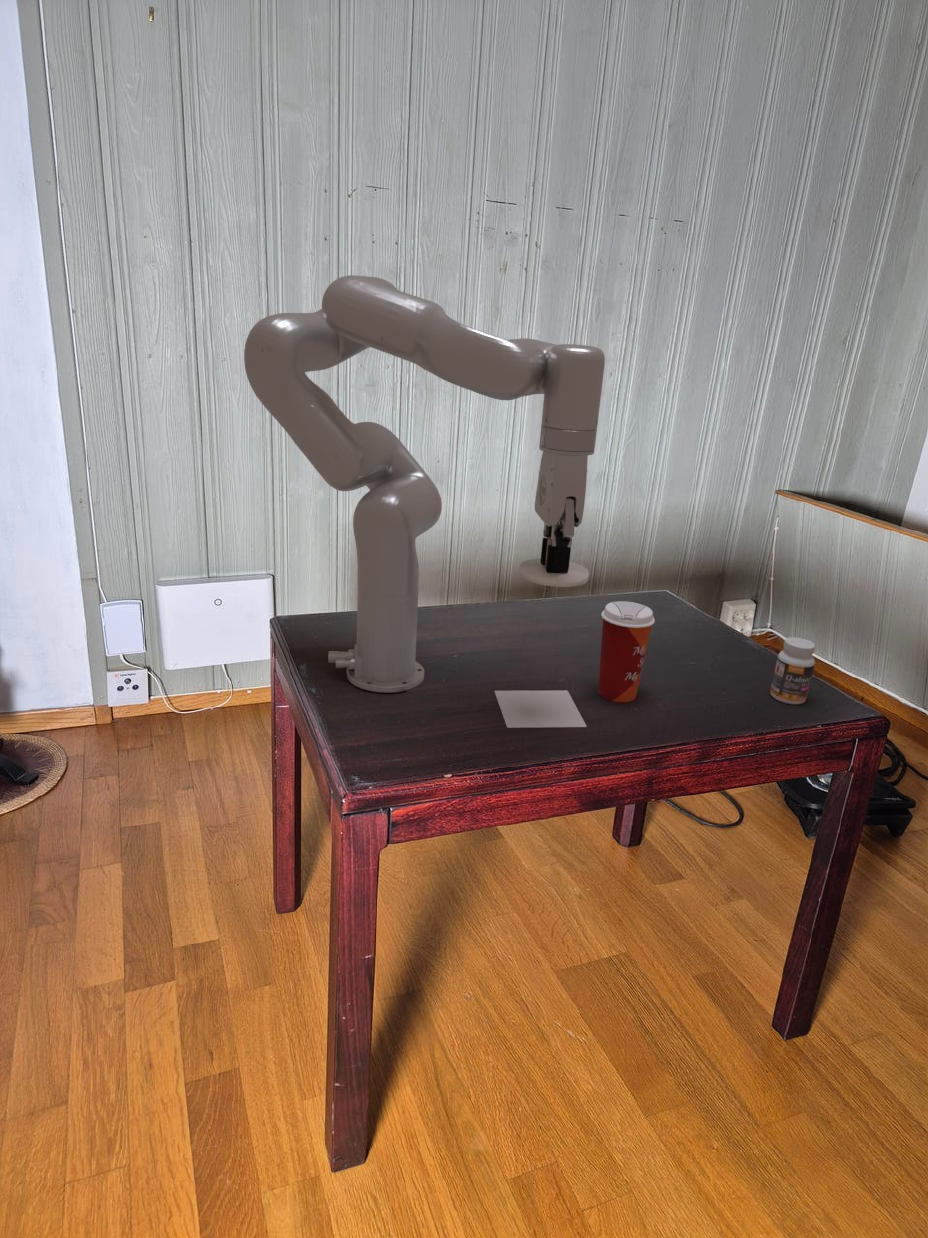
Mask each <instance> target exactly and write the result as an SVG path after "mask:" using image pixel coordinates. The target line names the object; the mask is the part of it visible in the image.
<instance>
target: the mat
mask: <svg viewBox="0 0 928 1238" xmlns="http://www.w3.org/2000/svg"><path fill="white" fill-rule="evenodd" d="M494 695H495V697H496V700H497V702H498V705H499V708H500V711H501V713H502V716H503V720H504V722H505V725H506V727H507V729H509V728H510V729H514V728H515V729H519V728H520V729H521V728H522V729H524V728H525V729H526V728H527V729H528V728H530V729H532V728H534V729H535V728H587V727H588V726H587V724H586V723H585V720H584V718H583V717H582V715H581V713H580V711H579V710H578V708H577V706H576V704H575V701H574V700H573V697H572V696H571V694H570V692H569V691H568V690H566V689H565V690H494Z"/></svg>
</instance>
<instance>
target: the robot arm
mask: <svg viewBox="0 0 928 1238" xmlns="http://www.w3.org/2000/svg"><path fill="white" fill-rule="evenodd" d="M369 348H372V349H374V350H378V351H380V352H383V353H386V354H388V355H391V356H394V357H396V358H399V359H402V360H403V361H404V360H405V361H407V362H409V363H412V364H415V365H417V366H419V367H420V368H421V369H423V370H424V371H426V372H428V373H431V374H432V375H434V376H435V377H438V378H440V379H441V380H443V381H445V382H447V383H450V384H453V385H455V386H457V387H459V388H462V389H465V390H468V391H471V392H474V393H477V394H479V395H480V396H481V395H482V396H485V397H488V398H491V399H494V400H499V401H513V400H517V399H520V398H523V397H527V396H528V397H529V396H532V395H533V396H534V395H543V402H542V403H543V404H542V405H543V406H542V413H541V415H542V416H541V425H540V433H539V434H540V435H539V436H540V437H539V444H538V445H539V447H538V448H539V450H540V451H542V455H541V460H540V463H539V464H540V465H539V471H538V479H537V485H536V492H535V501H534V511H535V513H536V514H537V516H538V517H539V518H540V520H541V521H542V522H543V523H544V524H543V537H542V541H541V552H540V553H541V554H540V558H541V561H540V562H541V564H542V565H545V561H546V551H547V542H548V537H550V536H551V545H548V551H547V561H546V572H547V573H568V570H569V561H570V560H571V551H572V545H573V538H574V537H575V528H578V527H579V526H581V524H582V522H583V518H584V511H585V503H586V502H585V500H586V491H587V481H588V479H587V478H588V477H587V475H588V456H592V455H594V454H595V449H596V443H597V442H596V440H597V432H598V424H599V416H600V415H599V414H600V406H601V397H602V389H603V380H604V373H605V363H606V357H605V353H604V351H603V350H602V349H601V348H599V347H596V346H591V345H585V344H571V343H570V344H569V343H565V344H564V343H563V344H562V343H561V344H556V343H550V342H547V341H541V340H539V339H534V338H529V337H528V338H527V337H526V338H525V337H524V338H510V339H506V338H502V337H500V336H496V335H493V334H490V333H487V332H485V331H482V330H479V329H476V328H473V327H471V326H469V325H465V324H463V323H461V322H459V321H456V320H455V319H454V318H451V317H450V316H449V315H447V313H446V312H445V310H444V308H443V307H442V306H441V305H440V304H438V303H437V302H434V301H431V300H428V299H425V298H422V297H420V296H417V295H413V294H410V293H408V292H404V291H402V290H398V288H397V287H396V286H395V285H394V284H393V283H391V282H390V281H388V280H386V279H384V278H381V277H379V276H377V277H376V276H375V277H374V276H366V275H352V274H351V275H344V276H341V277H338V278H336V279H335V280H333V281H332V282H331V283H330V284H329V285H328V287H327V288H326V289H325V290H324V293H323V296H322V301H321V309H318V310H317V311H315V312H281V313H275V314H271V315H268V316H265V317H264V318H262V319H260V320H258V321H257V322H256V323H254V325H253V326H252V327H251V329H250V331H249V333H248V335H247V337H246V340H245V344H244V350H243V351H244V352H243V353H244V354H243V360H244V371H245V373H246V374H245V375H246V378H247V380H248V383H249V386H250V388H251V389H252V391H253V393H254V394H255V396H256V398H257V399H258V401H259V402H260V403H261V404H262V405H263V406H264V407H265V409H266V411H268V412H269V413H270V415H271V416H272V417H273V418H274V419H275V421H277V422H278V424H279V425H280V426H281V427H282V428H283V430H284V431H285V432H286V434H288V436H289V437H290V438H291V440H292V441H293V442H294V444H295V445H296V447H298V449H299V450H300V451H301V452H302V454H303V455H304V456H305V458H306V459H307V460H308V461H309V463H310V464H311V465H312V466H313V468H314V469H315V470H316V472H317V473H318V474H319V475H320V476H321V478H323V480H324V481H325V483H327V484H328V485H329V486H330V487H332V488H333V489H335V490H336V491H340V492H350V491H351V492H353V491H354V490H358V489H361V488H363V487H367V489H369V491H368V492H366V493H364V495H363V496H362V497H361V498H360V500H359V501H358V502H357V504H356V506H355V509H354V512H353V516H352V518H353V519H352V528H353V535H354V536H353V537H354V542H355V546H356V547H355V548H356V559H357V560H356V561H357V583H356V584H357V597H356V598H357V607H356V608H357V609H356V610H357V611H356V613H357V614H356V643H354V649H353V648H352V649H348V651H339V650H336V651H335V650H329V651H328V655H327V656H328V657H327V659H328V662H327V663H329V664H335V668H336V669H344V668H346V678H347V680H348V681H349V682H350V683H351V684H352V685H353V686H355V687H356V688H359V689H362V690H366V691H368V692H375V693H386V694H388V693H389V694H390V693H401V692H406V691H407V690H410V689H414V688H416V687H418V686H419V685H420V684H421V683H423V681H424V679H425V668H424V667H423V666H422V664H420V663H419V662H418V661H416V657H417V656H416V654H417V653H416V652H417V632H418V631H417V629H418V609H419V607H418V605H419V587H420V586H419V582H420V580H419V579H420V568H419V567H420V566H419V560H418V558H419V557H418V553H417V548H416V539H417V538H418V537H420V536H421V535H422V534H424V533H426V532H428V531H429V530H430V529H431V528H433V527H434V526H435V524H437V522H438V521H439V519H440V516H441V514H442V509H443V504H442V498H441V494H440V492H439V489H438V487H437V486H436V485H435V483H434V481H433V480H432V478H430V476H429V475H428V474H427V473H426V471H425V470H424V469H423V467H422V466H421V465H420V464H419V462H418V461H417V460H416V459H415V457H414V456H413V455H412V453H410V451H409V450H408V449H407V448H406V446H405V445H404V444H403V442H401V440H400V439H399V438H398V437H397V436H396V434H394V433H393V432H392V431H391V430H390V429H388V428H387V427H385V426H383V425H382V424H380V423H377V422H375V421H374V422H373V421H372V422H371V421H362V422H356V423H353V422H352V420H350V419H349V418H348V417H347V416H346V415H345V413H344V412H343V411H342V410H341V408H339V406H338V404H336V403H335V401H334V399H332V397H331V396H330V395H329V394H328V393H327V392H326V391H325V390H324V389H322V388H321V386H319V385H317V383H315V382H314V381H312V380H311V378H309V377H308V375H307V374H306V373H308V372H316V371H318V372H319V371H323V370H327V369H328V370H329V369H330V368H333V367H335V366H337V365H340V364H342V363H343V362H345V361H347V360H349V359H350V358H352V357H354V356H356V355H358V354H360V353H361V352H363V351H365V350H368V349H369ZM264 407H263V408H264ZM570 562H571V561H570Z"/></svg>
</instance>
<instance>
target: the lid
mask: <svg viewBox="0 0 928 1238" xmlns="http://www.w3.org/2000/svg"><path fill="white" fill-rule="evenodd" d="M548 545H551V536H550V537H548V542H547V551H548ZM547 551H546V561H547ZM540 561H541V557H540V558H533V559H528V560H524V561H522V562H520V564H519V570H518V573H519V576H520V577H521V578H522V579H524V580H526V581H528V582H530V583H534V584H537V585H540V586H546V587H552V588H553V587H554V588H555V587H556V588H573V587H580V586H582V585H585V584H586V583H587V582H589V578H590V577H589V576H590V571H589V569H588V568H587V567H586V566H584V565H582V564H580V563H577V562H573V561H569V570H568V573H547V572H546V561H545V565H542V564H541V562H540Z"/></svg>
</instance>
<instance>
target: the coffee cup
mask: <svg viewBox="0 0 928 1238" xmlns="http://www.w3.org/2000/svg"><path fill="white" fill-rule="evenodd" d="M601 617H602V631H601V641H600V643H601V646H600V657H599V658H600V661H599V674H598V675H599V676H598V695H599V696H601V697H602V698H603V699H606V700H607V701H610V702H616V703H629V702H632V701H634V700H635V699H636V697H637V694H638V689H639V685H640V680H641V677H642V672H643V671H642V670H643V666H644V663H645V659H646V654H647V649H648V644H649V640H650V635H651V629H652V626H653V625H654V624H655V622H656V621H655V617H654V612H653V610H652V609H651V608H650V607H649V606H646V605H645V604H641V603H637V602H633V601H625V600H624V601H623V600H621V601H620V600H619V601H618V600H617V601H612V602H609V603H607V604H606V605H605V607H604V610H603V611H602V612H601Z"/></svg>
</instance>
